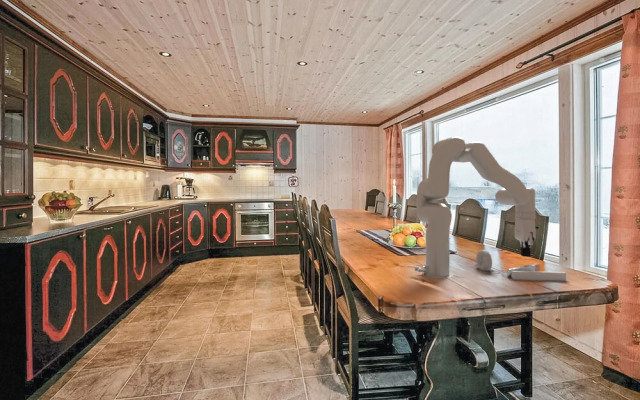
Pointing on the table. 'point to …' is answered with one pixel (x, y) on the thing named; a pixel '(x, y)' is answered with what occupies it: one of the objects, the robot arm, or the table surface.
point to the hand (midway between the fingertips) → (525, 256)
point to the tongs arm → (524, 269)
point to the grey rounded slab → (484, 260)
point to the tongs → (537, 276)
